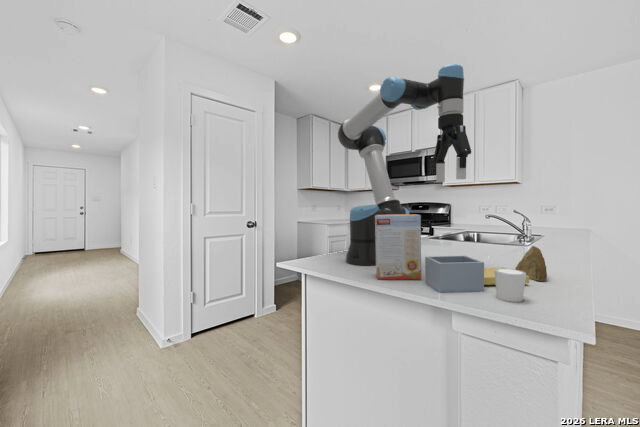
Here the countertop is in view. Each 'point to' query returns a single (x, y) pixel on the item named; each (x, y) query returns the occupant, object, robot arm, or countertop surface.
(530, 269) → the rock
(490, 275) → the lid
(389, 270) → the cracker box
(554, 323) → the countertop surface
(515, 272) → the white cup
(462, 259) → the tub
